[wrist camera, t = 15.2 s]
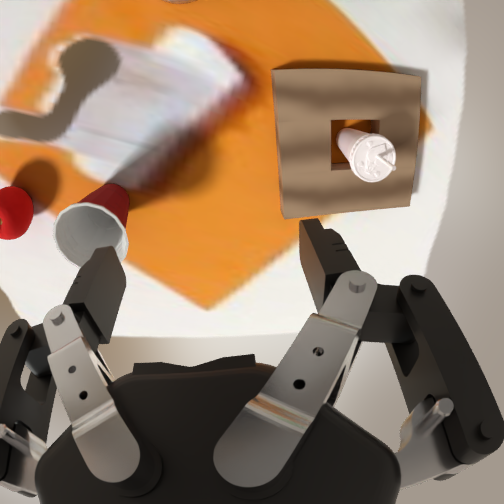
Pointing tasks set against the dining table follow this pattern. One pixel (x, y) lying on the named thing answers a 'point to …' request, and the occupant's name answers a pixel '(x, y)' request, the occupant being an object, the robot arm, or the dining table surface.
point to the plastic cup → (93, 225)
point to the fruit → (14, 212)
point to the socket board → (319, 137)
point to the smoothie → (367, 154)
